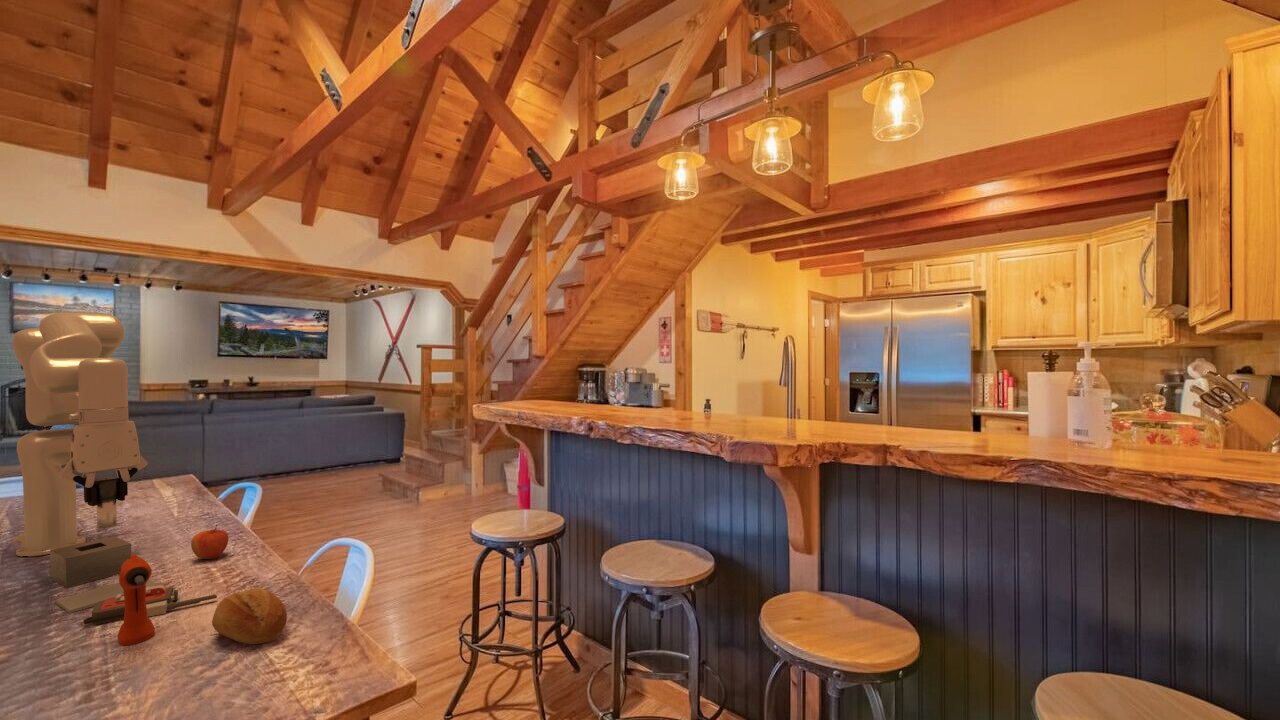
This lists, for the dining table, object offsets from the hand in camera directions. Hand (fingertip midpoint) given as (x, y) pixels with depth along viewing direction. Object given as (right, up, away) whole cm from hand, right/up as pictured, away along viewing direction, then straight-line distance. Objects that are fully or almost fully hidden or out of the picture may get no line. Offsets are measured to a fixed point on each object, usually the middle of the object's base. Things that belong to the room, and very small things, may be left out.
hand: (106, 501), depth 116 cm
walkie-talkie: (+16, -21, -6) cm, 27 cm away
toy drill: (+25, -20, -20) cm, 38 cm away
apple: (+6, -20, +21) cm, 29 cm away
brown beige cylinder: (0, -5, 0) cm, 5 cm away
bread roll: (+43, -20, -17) cm, 50 cm away
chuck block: (-15, -20, +11) cm, 27 cm away
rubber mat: (0, -20, 0) cm, 20 cm away
